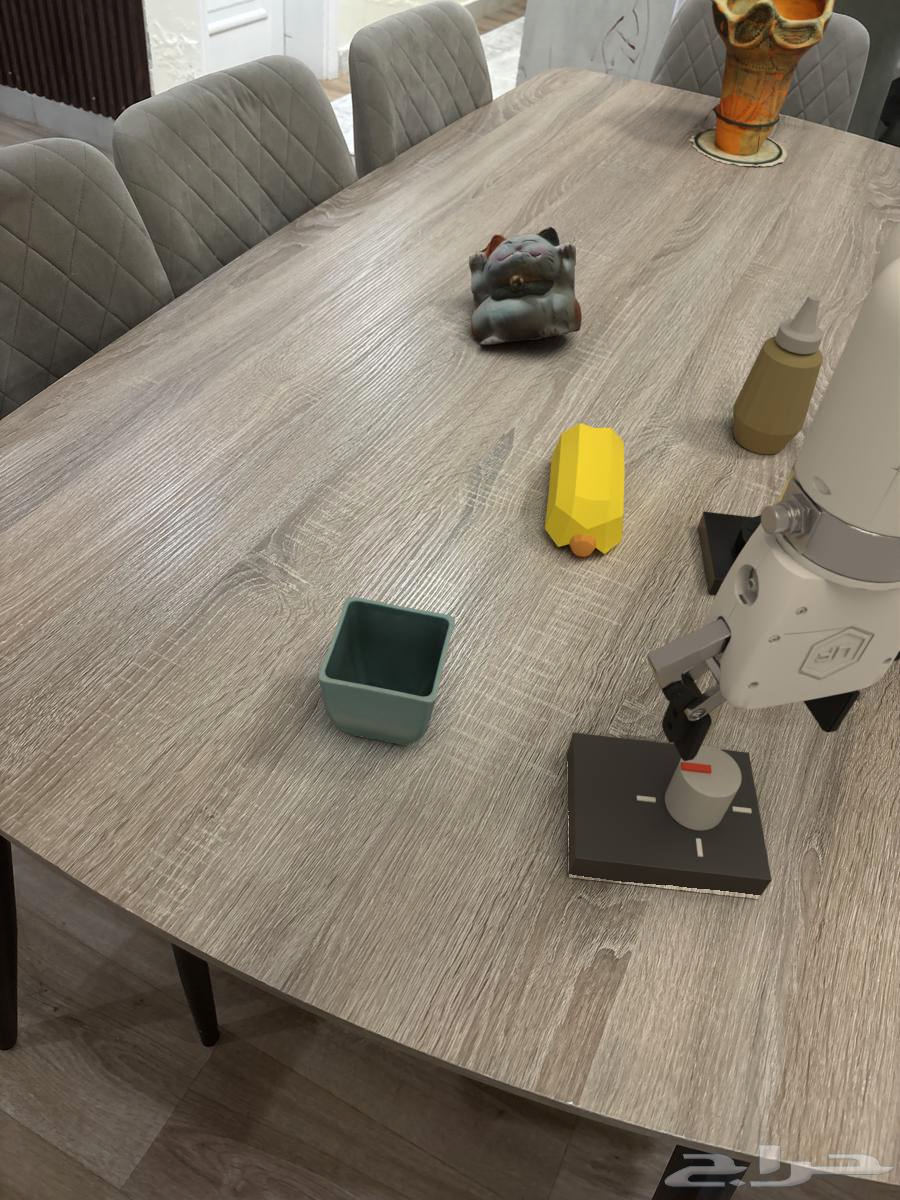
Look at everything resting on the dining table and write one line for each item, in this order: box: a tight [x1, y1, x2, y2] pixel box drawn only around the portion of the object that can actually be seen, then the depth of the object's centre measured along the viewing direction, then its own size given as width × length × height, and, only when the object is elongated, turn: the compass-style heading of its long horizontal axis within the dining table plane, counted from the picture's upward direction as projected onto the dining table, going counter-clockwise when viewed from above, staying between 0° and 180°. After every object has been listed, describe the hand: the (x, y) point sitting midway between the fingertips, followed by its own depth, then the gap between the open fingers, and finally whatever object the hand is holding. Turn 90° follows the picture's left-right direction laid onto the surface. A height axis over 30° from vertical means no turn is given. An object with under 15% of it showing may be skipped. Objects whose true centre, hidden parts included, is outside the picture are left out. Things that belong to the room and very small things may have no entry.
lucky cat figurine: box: [468, 226, 583, 347], centre depth 118 cm, size 15×12×14 cm
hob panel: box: [566, 731, 773, 896], centre depth 71 cm, size 14×11×3 cm
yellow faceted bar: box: [544, 422, 626, 558], centre depth 96 cm, size 18×7×8 cm
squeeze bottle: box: [732, 294, 824, 455], centre depth 103 cm, size 8×8×18 cm
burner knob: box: [665, 745, 742, 831], centre depth 68 cm, size 4×4×5 cm
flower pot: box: [317, 596, 456, 746], centre depth 74 cm, size 9×9×9 cm
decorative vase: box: [688, 0, 836, 168], centre depth 165 cm, size 21×23×28 cm
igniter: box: [697, 511, 761, 597], centre depth 93 cm, size 12×10×4 cm
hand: (748, 727), depth 58 cm, fingers open, 9 cm apart
